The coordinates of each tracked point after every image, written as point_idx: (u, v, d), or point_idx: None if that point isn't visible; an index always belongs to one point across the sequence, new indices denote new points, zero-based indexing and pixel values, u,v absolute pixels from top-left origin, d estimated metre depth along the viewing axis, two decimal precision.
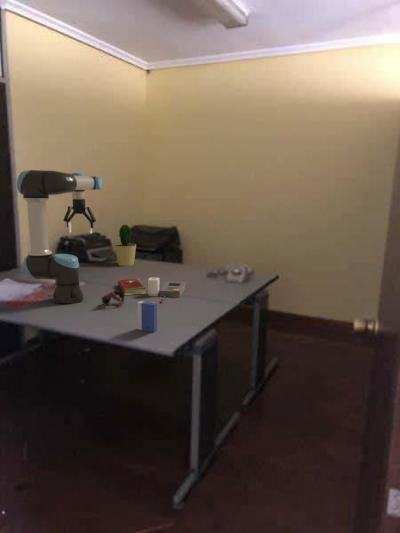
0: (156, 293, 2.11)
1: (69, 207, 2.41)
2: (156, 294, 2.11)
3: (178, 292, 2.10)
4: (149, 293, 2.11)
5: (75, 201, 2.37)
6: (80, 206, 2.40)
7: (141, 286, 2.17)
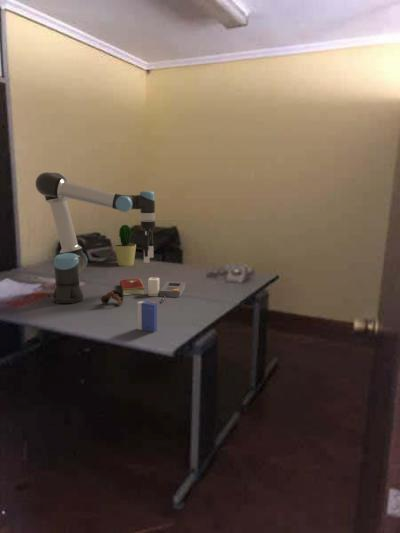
0: (156, 293, 2.11)
1: None
2: (156, 294, 2.11)
3: (178, 292, 2.10)
4: (149, 293, 2.11)
5: None
6: None
7: (140, 286, 2.16)
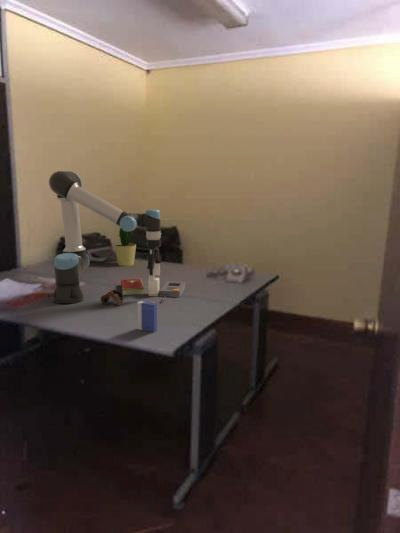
0: (156, 293, 2.11)
1: None
2: (156, 294, 2.11)
3: (178, 292, 2.10)
4: (149, 293, 2.11)
5: None
6: None
7: (140, 286, 2.16)
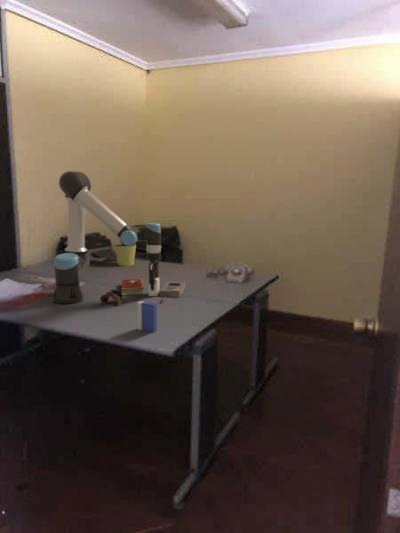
0: (156, 293, 2.11)
1: None
2: (156, 294, 2.11)
3: (178, 292, 2.10)
4: (149, 293, 2.11)
5: None
6: None
7: (140, 286, 2.16)
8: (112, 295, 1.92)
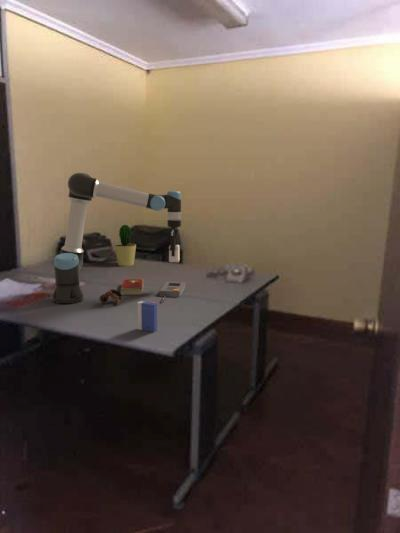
0: (177, 259, 2.18)
1: None
2: (177, 260, 2.18)
3: (178, 292, 2.10)
4: (170, 259, 2.18)
5: None
6: None
7: (139, 287, 2.16)
8: (111, 295, 1.93)
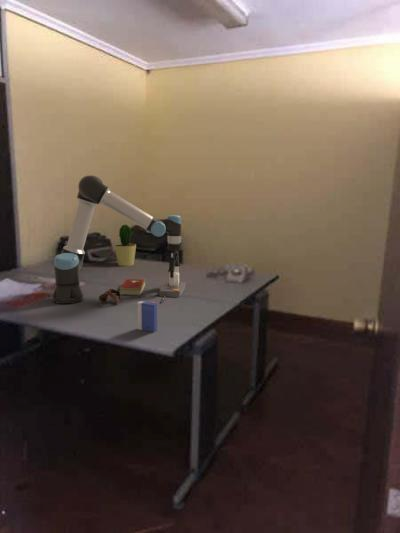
0: None
1: None
2: None
3: (178, 292, 2.10)
4: None
5: None
6: None
7: (138, 287, 2.15)
8: (111, 294, 1.93)
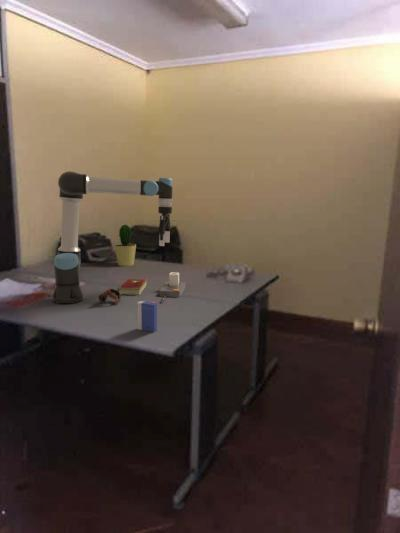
0: None
1: None
2: None
3: (178, 292, 2.10)
4: None
5: None
6: None
7: (137, 287, 2.15)
8: (110, 294, 1.94)
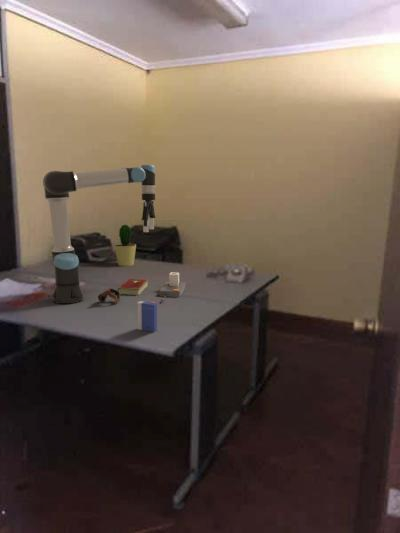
0: None
1: None
2: None
3: (178, 292, 2.10)
4: None
5: None
6: None
7: (136, 287, 2.15)
8: (110, 294, 1.94)
